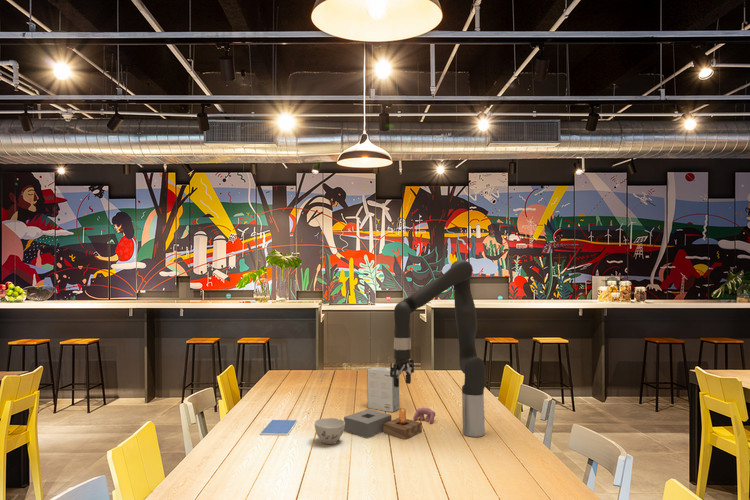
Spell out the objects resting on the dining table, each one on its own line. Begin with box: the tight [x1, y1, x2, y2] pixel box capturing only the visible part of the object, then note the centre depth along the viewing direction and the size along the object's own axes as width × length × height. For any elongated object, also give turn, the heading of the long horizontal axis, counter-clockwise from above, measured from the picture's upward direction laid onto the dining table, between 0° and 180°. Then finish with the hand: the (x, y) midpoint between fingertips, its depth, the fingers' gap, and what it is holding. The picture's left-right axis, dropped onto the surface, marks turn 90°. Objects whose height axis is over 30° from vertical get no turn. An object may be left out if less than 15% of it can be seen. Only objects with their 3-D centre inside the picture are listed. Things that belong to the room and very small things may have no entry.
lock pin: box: [398, 407, 407, 426], centre depth 192 cm, size 3×3×10 cm
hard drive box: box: [366, 366, 401, 413], centre depth 229 cm, size 16×8×20 cm, turn 58°
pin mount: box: [382, 417, 423, 440], centre depth 192 cm, size 12×12×4 cm
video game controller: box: [412, 407, 436, 425], centre depth 208 cm, size 10×5×7 cm, turn 58°
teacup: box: [314, 417, 345, 445], centre depth 183 cm, size 15×12×8 cm
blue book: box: [259, 419, 298, 437], centre depth 199 cm, size 19×13×1 cm, turn 177°
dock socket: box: [343, 408, 392, 439], centre depth 196 cm, size 16×14×6 cm
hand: (402, 385), depth 193 cm, fingers open, 8 cm apart
